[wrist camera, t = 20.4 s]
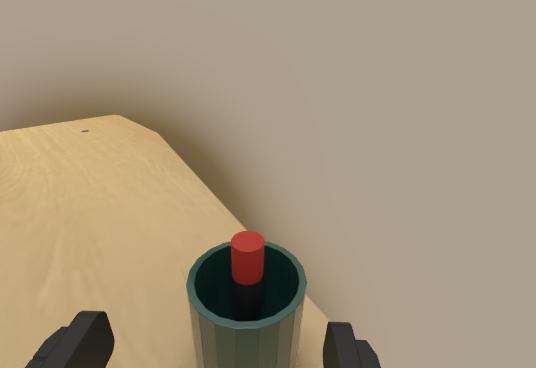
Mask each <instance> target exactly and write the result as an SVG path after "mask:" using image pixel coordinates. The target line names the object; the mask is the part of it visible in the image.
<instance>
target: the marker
mask: <svg viewBox="0 0 536 368" xmlns="http://www.w3.org/2000/svg"><path fill="white" fill-rule="evenodd" d="M231 260H232V277H233V281H234V318H235V321H258V320H260V317H261V287H262V277H263V268H264V238H263V237H262V236H261V235H260V234H259V233H257V232H253V231H243V232H239V233H237V234H236V235H234V236H233V237H232V239H231Z"/></svg>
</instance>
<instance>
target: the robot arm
mask: <svg viewBox="0 0 536 368" xmlns="http://www.w3.org/2000/svg"><path fill="white" fill-rule="evenodd" d="M113 348H114V336H113V332H112V329H111V326H110V323H109V320H108V317H107V314H106V312H104V311H81V312H79V313H78V314H77V315H76V317H75V318H74V319H73V321H72V322H71V324H70V325H69V326H68V327H61V328H60V329H59V330H57V331H56V332H55V333H54V334H53V335H51V336H50V337H49V338H48V339H47V340H45V342H44V343H43V344H42V346H41V347H40V348H39V350H38V351H37V352H36V354H35V355H34V356H33V359H32V360H30V362H29V363H28V364H27V366H26V367H25V368H105V367H106V365H107V363H108V361H109V359H110V357H111V355H112V352H113ZM323 366H324V368H381V367H380V363H379V360H378V357H377V355H376V353H375V352H374V351H373V349H372V348H371V347H370V345H369V344H368V342H367V341H366V340H355V337H354V333H353V329H352V326H351V324H350V323H348V322H328V325H327V331H326V336H325V341H324V346H323Z"/></svg>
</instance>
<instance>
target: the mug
mask: <svg viewBox="0 0 536 368" xmlns="http://www.w3.org/2000/svg"><path fill="white" fill-rule="evenodd" d="M306 284H307V282H306V276H305V272H304V269H303V267H302V265H301V264H300V263H299V261H298V260H297V258H296V257H295V256H294V255H292V254H291V253H290V252H288V251H287V250H286V249H284V248H282V247H280V246H278V245H276V244H273V243H270V242H266V241H264V268H263V277H262V287H261V317H260V320H258V321H235V318H234V281H233V277H232V260H231V242H226V243H223V244H221V245H218V246H216V247H214V248H212V249H210V250H208V251H207V252H206V253H205V254H203V255H202V256H201V257H199V258H198V259H197V261H196V262H195V264H194V265H193V266H192V268H191V269H190V271H189V275H188V279H187V283H186V288H187V296H188V303H189V311H190V319H191V327H192V334H193V342H194V350H195V358H196V365H197V368H296V362H297V354H298V347H299V339H300V331H301V324H302V316H303V308H304V301H305V293H306Z"/></svg>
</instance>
